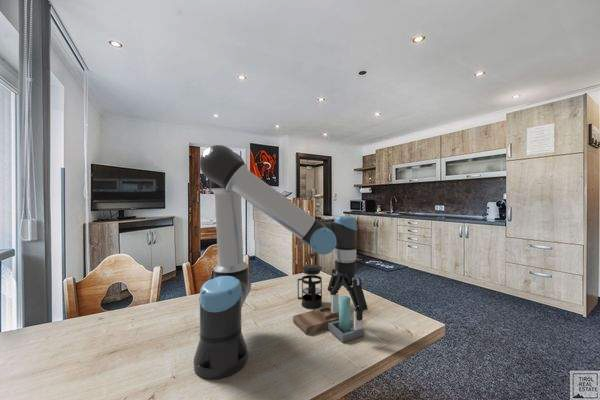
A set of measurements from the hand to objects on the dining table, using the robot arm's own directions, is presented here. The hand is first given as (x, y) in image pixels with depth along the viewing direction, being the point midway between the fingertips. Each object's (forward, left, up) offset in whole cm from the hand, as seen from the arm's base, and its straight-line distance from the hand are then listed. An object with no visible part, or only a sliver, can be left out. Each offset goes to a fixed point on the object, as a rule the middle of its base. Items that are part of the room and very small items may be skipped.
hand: (345, 319), depth 88 cm
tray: (0, 0, -5) cm, 5 cm away
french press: (0, +26, -5) cm, 26 cm away
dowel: (-1, 0, -4) cm, 4 cm away
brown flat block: (-5, +11, -5) cm, 13 cm away
